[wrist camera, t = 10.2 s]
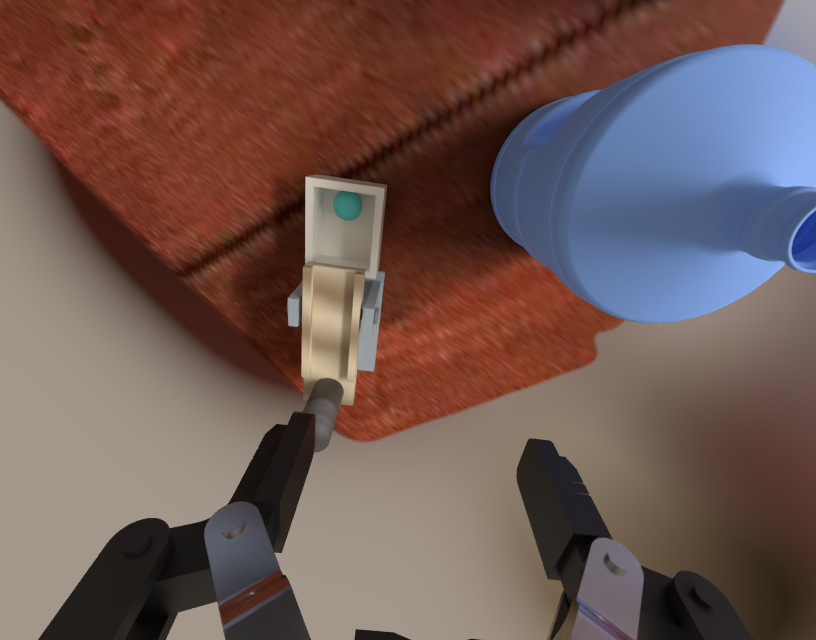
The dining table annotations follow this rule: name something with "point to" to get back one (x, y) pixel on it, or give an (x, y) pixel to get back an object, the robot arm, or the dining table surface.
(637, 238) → the water jug
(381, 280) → the stand
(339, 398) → the lever
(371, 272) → the gray open tray
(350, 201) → the ball
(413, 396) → the dining table surface
